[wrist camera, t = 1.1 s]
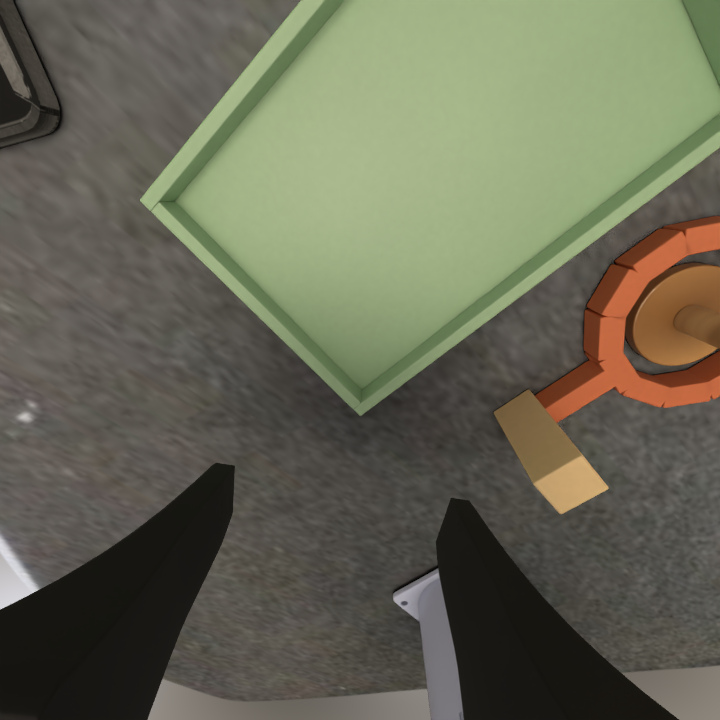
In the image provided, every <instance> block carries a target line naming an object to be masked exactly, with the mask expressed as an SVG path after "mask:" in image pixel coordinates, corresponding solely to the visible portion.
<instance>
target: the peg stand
mask: <svg viewBox="0 0 720 720" xmlns="http://www.w3.org/2000/svg"><path fill="white" fill-rule="evenodd" d="M625 336H626V339H627V341H628V343H629V345H630V346H631V348H632V349H633V350H634V351H635V352H636V353H638V354H639V355H641V356H642V357H644V358H646V359H647V360H649V361H651V362H654V363H657V364H660V365H683V364H687V363H691V362H694V361H697V360H699V359H701V358H703V357H705V356H707V355H709V354H710V353H712V352H713V351H715V350H716V349H717V348H718V349H720V267H718V266H714V265H709V264H704V263H687V264H682V265H678V266H675V267H672V268H669V269H667V270H665V271H664V272H662V273H661V274H660V275H658V276H657V277H655V278H654V279H652V280H651V281H649V283H648V284H647V286H646V287H645V289H644V290H643V292H642V293H641V295H640V296H639V298H638V300H637V301H636V303H635V304H634V306H633V307H632V309H631V310H630V312H629V314H628V315H627V317H626V322H625Z"/></svg>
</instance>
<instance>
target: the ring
mask: <svg viewBox="0 0 720 720" xmlns="http://www.w3.org/2000/svg"><path fill="white" fill-rule="evenodd" d="M717 249H720V216H712V217H707V218H702V219H697V220H692V221H687V222H682V223H677V224H672V225H667V226H664V227H663V229H658V230H656V231H655V232H654V233H652V234H651V235H649V236H648V237H647V238H645V239H644V240H642V241H641V242H640V243H638V244H637V245H635V246H634V247H633V248H631V249H630V250H629V251H627V252H626V253H624V254H623V255H622V256H620V257H619V258H617V259H616V260H615V263H616V264H617V265H615V264H611V265H610V267H609V269H608V270H607V272H606V274H605V275H604V277H603V279H602V280H601V282H600V284H599V285H598V287H597V289H596V291H595V292H594V294H593V296H592V297H591V299H590V301H589V302H588V304H587V307H588V308H590V309H586V310H585V319H584V350H585V351H586V352H585V355H586V356H587V357H588V359H589V360H588V361H587V362H585V363H584V364H582V365H581V366H579V367H578V368H576V369H575V370H573V371H571V372H570V373H568V374H567V375H565V376H564V377H562V378H561V379H559V380H558V381H556V382H555V383H553V384H552V385H550V386H549V387H547V388H545V389H544V390H542V391H541V392H539V393H538V394H536V395H535V396H534V395H533V393H532V392H531V391H530V390H529V389H528V390H526V391H525V392H523V393H522V394H520V395H519V396H517V397H516V398H514V399H513V400H511V401H510V402H508V403H507V404H505V405H504V406H502V407H500V408H499V409H497V410H496V411H494V412H493V413H494V415H495V417H496V419H497V421H498V422H499V424H500V426H501V428H502V429H503V431H504V433H505V435H506V437H507V438H508V440H509V442H510V444H511V445H512V447H513V449H514V451H515V453H516V454H517V456H518V458H519V460H520V461H521V463H522V465H523V467H524V469H525V470H526V472H527V474H528V476H529V478H530V479H531V481H532V483H533V484H534V486H535V487H536V488H537V489H538V490H539V491H540V492H541V493H542V494H543V496H544V497H545V498H546V499H547V500H548V501H549V502H550V503H551V505H552V506H553V507H554V508H555V509H556V510H557V511H558V512H559V513H560V514H563V513H565V512H567V511H568V510H570V509H572V508H574V507H576V506H578V505H580V504H581V503H583V502H585V501H587V500H589V499H591V498H593V497H594V496H596V495H598V494H600V493H602V492H604V491H605V490H607V489H608V486H607V485H606V483H605V482H604V481H603V480H602V479H601V477H600V476H599V475H598V474H597V472H596V471H595V470H594V469H593V467H592V466H591V465H590V464H589V462H588V461H587V460H586V459H585V457H584V456H583V455H582V454H581V452H580V451H579V450H578V449H577V447H576V446H575V445H574V444H573V443H572V441H571V440H570V439H569V438H568V436H567V435H566V434H565V433H564V431H563V430H562V429H561V428H560V427H559V425H558V424H557V422H559V421H560V420H562V419H564V418H565V417H567V416H568V415H570V414H572V413H573V412H575V411H577V410H578V409H580V408H581V407H583V406H585V405H586V404H588V403H589V402H591V401H593V400H594V399H596V398H598V397H599V396H601V395H602V394H604V393H606V392H607V391H609V390H610V389H612V388H614V389H615V390H616V391H618V392H619V393H621V394H622V395H623V396H626V397H629V398H632V399H635V400H638V401H642V402H645V403H648V404H651V405H654V406H657V407H661V406H662V407H663V408H666V407H673V406H680V405H686V404H693V403H699V402H706V401H710V398H712V399H715V398H717V397H719V396H720V351H718V352H716V353H715V354H713V355H711V356H710V357H708V358H706V359H705V360H703V361H701V362H699V363H698V364H696V365H694V366H693V367H691V368H689V369H688V370H683V371H677V372H671V373H665V374H659V375H652V376H651V375H648V374H646V373H643V372H640V371H637V370H635V369H634V368H633V366H632V365H631V363H630V362H629V360H628V359H627V357H626V356H625V354H624V353H623V349H624V336H625V322H626V317H627V315H628V314H629V312H630V310H631V309H632V307H633V306H634V304H635V303H636V301H637V300H638V298H639V296H640V295H641V293H642V292H643V290H644V289H645V287H646V286H647V284H648V283H649V281H651V280H652V279H654V278H655V277H657V276H658V275H660V274H661V273H662V272H664V271H665V270H667V269H668V268H670V267H671V266H673V265H674V264H676V263H677V262H679V261H680V260H681V259H683V258H684V257H686V256H687V255H691V254H696V253H702V252H707V251H712V250H717Z"/></svg>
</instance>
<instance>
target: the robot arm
mask: <svg viewBox="0 0 720 720" xmlns="http://www.w3.org/2000/svg"><path fill="white" fill-rule="evenodd" d="M234 470H235V466H233V465H227V464H220V463H215V464H213V465H212V466H211V467H210V468H209V469H208V470H207V471H206V472H205V473H204V474H202V475H201V476H200V477H199V478H198V479H197V480H196V481H195V482H194V483H193V484H192V485H190V486H189V487H188V488H187V489H186V490H185V491H184V492H182V493H181V494H180V495H179V496H178V497H177V498H175V499H174V500H173V501H172V502H171V503H169V504H168V505H167V506H166V507H165V508H164V509H162V510H161V511H160V512H159V513H157V514H156V515H155V516H153V517H152V518H151V519H149V520H148V521H147V522H146V523H144V524H143V525H142V526H140V527H139V528H138V529H136V530H135V531H134V532H132V533H131V534H130V535H128V536H127V537H125V538H124V539H122V540H121V541H120V542H118V543H117V544H115V545H114V546H112V547H111V548H109V549H108V550H106V551H105V552H103V553H102V554H100V555H99V556H97V557H95V558H94V559H92V560H90V561H89V562H87V563H86V564H84V565H82V566H81V567H79V568H77V569H76V570H74V571H72V572H71V573H69V574H67V575H66V576H64V577H62V578H60V579H59V580H57V581H55V582H53V583H51V584H49V585H47V586H46V587H44V588H42V589H40V590H38V591H36V592H34V593H32V594H30V595H29V596H27V597H25V598H23V599H21V600H19V601H17V602H15V603H13V604H11V605H9V606H7V607H5V608H3V609H1V610H0V720H147V719H148V716H149V713H150V710H151V708H152V705H153V702H154V700H155V697H156V694H157V691H158V689H159V686H160V684H161V680H162V678H163V675H164V673H165V670H166V667H167V665H168V662H169V660H170V657H171V654H172V652H173V649H174V647H175V644H176V641H177V639H178V636H179V633H180V631H181V629H182V626H183V624H184V622H185V620H186V617H187V615H188V613H189V611H190V609H191V607H192V605H193V603H194V601H195V598H196V596H197V594H198V592H199V590H200V588H201V586H202V584H203V582H204V580H205V578H206V576H207V574H208V572H209V570H210V567H211V565H212V563H213V561H214V559H215V557H216V555H217V553H218V551H219V549H220V546H221V544H222V542H223V539H224V536H225V533H226V531H227V528H228V525H229V522H230V519H231V516H232V513H233V494H234ZM436 548H437V561H438V569H436V570H434V571H432V572H431V573H429V574H427V575H425V576H423V577H421V578H420V579H418V580H416V581H414V582H412V583H411V584H409V585H407V586H405V587H403V588H402V589H400V590H398V591H396V592H395V593H394V594H393V600H394V602H395V603H396V604H398V605H399V606H400V607H401V608H403V609H404V610H405V611H406V612H408V613H409V614H410V615H411V616H413V617H414V618H415V619H416V620H418V621H419V622H420V629H421V638H422V646H423V655H424V664H425V672H426V681H427V690H428V698H429V706H430V715H431V720H679V719H677V718H676V717H675V716H674V715H672V714H671V713H669V712H668V711H667V710H666V709H665V708H663V707H662V706H661V705H659V704H658V703H657V702H656V701H654V700H653V699H652V698H650V697H649V696H648V695H647V694H645V693H644V692H643V691H642V690H640V689H639V688H638V687H637V686H636V685H635V684H633V683H632V682H631V681H630V680H628V679H627V678H626V677H625V676H624V675H623V674H622V673H620V672H619V671H618V670H617V669H616V668H615V667H613V666H612V665H611V664H610V663H609V662H608V661H607V660H606V659H605V658H603V657H602V656H601V655H600V654H599V653H598V652H597V651H596V650H595V649H594V648H593V647H592V646H591V645H589V644H588V643H587V642H586V641H585V640H584V639H583V638H582V637H581V636H580V635H579V634H578V633H577V632H576V631H575V630H574V629H573V628H572V627H571V626H570V625H569V624H568V623H567V622H566V621H565V620H564V619H563V618H562V617H561V616H560V615H559V614H558V613H557V612H556V611H555V610H554V608H553V607H552V606H551V605H550V604H549V603H548V602H547V601H546V600H545V599H544V598H543V597H542V595H541V594H540V593H539V592H538V591H537V590H536V589H535V587H534V586H533V585H532V584H531V583H530V581H529V580H528V579H527V578H526V577H525V575H524V574H523V573H522V572H521V571H520V569H519V568H518V567H517V566H516V564H515V563H514V562H513V561H512V559H511V558H510V557H509V555H508V554H507V553H506V551H505V550H504V549H503V547H502V546H501V545H500V543H499V542H498V541H497V539H496V538H495V537H494V535H493V534H492V532H491V531H490V530H489V528H488V527H487V525H486V524H485V522H484V521H483V520H482V518H481V517H480V515H479V514H478V513H477V511H476V510H475V508H474V507H473V505H472V504H471V503H470V501H468V500H462V499H455V498H451V500H450V503H449V505H448V508H447V511H446V514H445V517H444V520H443V523H442V526H441V529H440V532H439V535H438V538H437V540H436Z"/></svg>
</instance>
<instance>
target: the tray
mask: <svg viewBox="0 0 720 720" xmlns="http://www.w3.org/2000/svg"><path fill="white" fill-rule="evenodd" d="M719 148H720V0H301V1H300V2H299V3H298V5H297V6H296V7H295V8H294V9H293V11H292V12H291V13H290V14H289V16H288V17H287V18H286V19H285V21H284V22H283V23H282V24H281V26H280V27H279V28H278V29H277V31H276V32H275V33H274V34H273V35H272V37H271V38H270V39H269V40H268V42H267V43H266V44H265V45H264V47H263V48H262V49H261V50H260V52H259V53H258V54H257V55H256V57H255V58H254V59H253V60H252V61H251V63H250V64H249V65H248V66H247V68H246V69H245V70H244V71H243V73H242V74H241V75H240V76H239V78H238V79H237V80H236V81H235V83H234V84H233V85H232V86H231V87H230V89H229V90H228V91H227V92H226V94H225V95H224V96H223V97H222V99H221V100H220V101H219V102H218V104H217V105H216V106H215V107H214V109H213V110H212V111H211V112H210V113H209V115H208V116H207V117H206V118H205V120H204V121H203V122H202V123H201V125H200V126H199V127H198V128H197V130H196V131H195V132H194V133H193V135H192V136H191V137H190V138H189V139H188V141H187V142H186V143H185V144H184V146H183V147H182V148H181V149H180V151H179V152H178V153H177V154H176V156H175V157H174V158H173V159H172V161H171V162H170V163H169V164H168V165H167V167H166V168H165V169H164V170H163V172H162V173H161V174H160V175H159V177H158V178H157V179H156V180H155V182H154V183H153V184H152V185H151V187H150V188H149V189H148V190H147V191H146V193H145V194H144V195H143V196H142V198H141V199H140V201H141V202H142V203H143V204H144V205H145V206H146V207H147V208H148V209H149V210H150V211H151V212H152V213H153V214H154V215H155V216H156V217H157V218H158V219H159V220H160V221H161V222H162V223H163V224H164V225H165V226H166V227H167V228H168V229H169V230H170V231H171V232H172V233H173V234H174V235H175V236H176V237H177V238H178V239H179V240H180V241H181V242H183V243H184V244H185V245H186V246H187V247H188V248H189V249H190V250H191V251H192V252H193V253H194V254H195V255H196V256H197V257H198V258H199V259H200V260H201V261H202V262H203V263H204V264H205V265H206V266H207V267H208V268H209V269H210V270H211V271H212V272H213V273H214V274H215V275H216V276H217V277H218V278H219V279H220V280H221V281H222V282H223V283H224V284H225V285H226V286H228V287H229V288H230V289H231V290H232V291H233V292H234V293H235V294H236V295H237V296H238V297H239V298H240V299H241V300H242V301H243V302H244V303H245V304H246V305H247V306H248V307H249V308H250V309H251V310H252V311H253V312H254V313H255V314H256V315H257V316H258V317H259V318H260V319H261V320H262V321H263V322H264V323H265V324H266V325H267V326H268V327H269V328H270V329H271V330H273V331H274V332H275V333H276V334H277V335H278V336H279V337H280V338H281V339H282V340H283V341H284V342H285V343H286V344H287V345H288V346H289V347H290V348H291V349H292V350H293V351H294V352H295V353H296V354H297V355H298V356H299V357H300V358H301V359H302V360H303V361H304V362H305V363H306V364H307V365H308V366H309V367H310V368H311V369H312V370H313V371H314V372H315V373H316V374H318V375H319V376H320V377H321V378H322V379H323V380H324V381H325V382H326V383H327V384H328V385H329V386H330V387H331V388H332V389H333V390H334V391H335V392H336V393H337V394H338V395H339V396H340V397H341V398H342V399H343V400H344V401H345V402H346V403H347V404H348V405H349V406H350V407H351V408H352V409H354V410H355V411H356V412H357V413H358V414H359V415H360V416H361V415H363V414H364V413H365V412H367V411H368V410H369V409H371V408H372V407H373V406H375V405H376V404H377V403H379V402H380V401H381V400H383V399H384V398H385V397H387V396H388V395H389V394H391V393H392V392H393V391H395V390H396V389H397V388H399V387H400V386H402V385H403V384H404V383H406V382H407V381H408V380H410V379H411V378H412V377H414V376H415V375H416V374H418V373H419V372H420V371H422V370H423V369H424V368H426V367H427V366H428V365H430V364H431V363H432V362H434V361H435V360H436V359H438V358H439V357H440V356H442V355H443V354H444V353H446V352H447V351H448V350H450V349H451V348H452V347H454V346H455V345H456V344H458V343H459V342H460V341H462V340H463V339H464V338H466V337H467V336H468V335H470V334H471V333H472V332H474V331H475V330H476V329H478V328H479V327H480V326H482V325H483V324H484V323H486V322H487V321H488V320H490V319H491V318H492V317H494V316H495V315H496V314H498V313H499V312H501V311H502V310H503V309H505V308H506V307H507V306H509V305H510V304H511V303H513V302H514V301H515V300H517V299H518V298H519V297H521V296H522V295H523V294H525V293H526V292H527V291H529V290H530V289H531V288H533V287H534V286H535V285H537V284H538V283H539V282H541V281H542V280H543V279H545V278H546V277H547V276H549V275H550V274H551V273H553V272H554V271H555V270H557V269H558V268H559V267H561V266H562V265H563V264H565V263H566V262H567V261H569V260H570V259H571V258H573V257H574V256H575V255H577V254H578V253H579V252H581V251H582V250H583V249H585V248H586V247H587V246H589V245H590V244H591V243H593V242H594V241H595V240H597V239H598V238H600V237H601V236H602V235H604V234H605V233H606V232H608V231H609V230H610V229H612V228H613V227H614V226H616V225H617V224H618V223H620V222H621V221H622V220H624V219H625V218H626V217H628V216H629V215H630V214H632V213H633V212H634V211H636V210H637V209H638V208H640V207H641V206H642V205H644V204H645V203H646V202H648V201H649V200H650V199H652V198H653V197H654V196H656V195H657V194H658V193H660V192H661V191H662V190H664V189H665V188H666V187H668V186H669V185H670V184H672V183H673V182H674V181H676V180H677V179H678V178H680V177H681V176H682V175H684V174H685V173H686V172H688V171H689V170H690V169H692V168H693V167H694V166H696V165H697V164H699V163H700V162H701V161H703V160H704V159H705V158H707V157H708V156H709V155H711V154H712V153H713V152H715V151H716V150H717V149H719Z"/></svg>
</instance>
